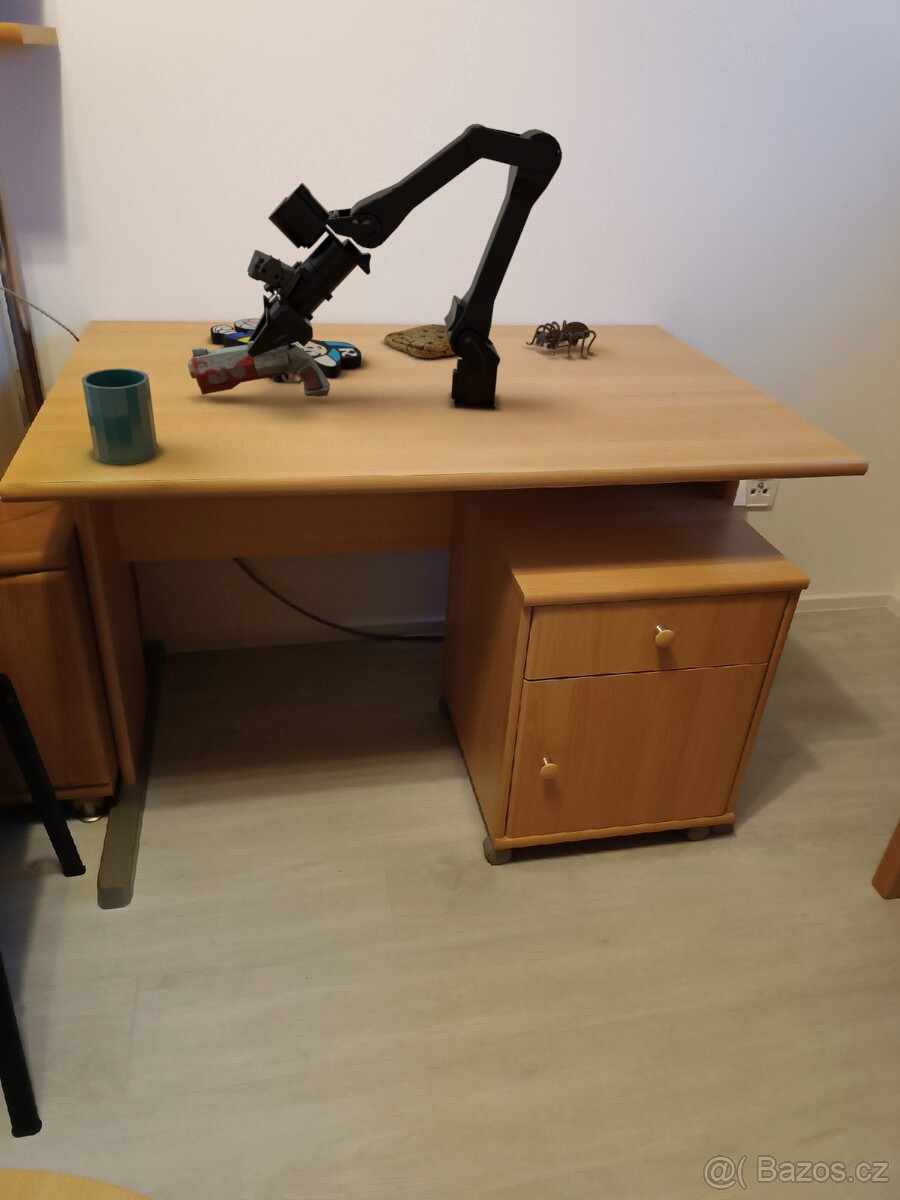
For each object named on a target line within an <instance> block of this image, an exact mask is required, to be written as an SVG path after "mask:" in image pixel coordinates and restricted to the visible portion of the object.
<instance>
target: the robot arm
mask: <svg viewBox="0 0 900 1200" xmlns="http://www.w3.org/2000/svg"><path fill="white" fill-rule="evenodd" d="M481 159H485V160H490V161H493V162H496V163H497V162H498V163H500V164H505V165H509V168H508V175H507V183H506V192H505V194H504V198H503V201H502V203H501V205H500V208H499V211H498V214H497V217H496V219H495V222H494V224H493V227H492V229H491V231H490V234H489V237H488V240H487V243H486V244H485V248H484V251H483V253H482V255H481V258H480V261H479V264H478V265H477V268H476V271H475V274H474V275H473V279H472V282H471V284H470V287H469V288H468V290H467V291H466V292H465V294H464V295H463V296H462V297H461V298H460V297H458V296H457V295H455V294H454V295H453V296H452V299H451V304H450V308H449V310H448V313H447V315H445V317H443V321H444V324H445V326H446V334H447V337H448V340H449V343H450V346H451V349H452V351H453V352H454V353H455V354H454V355H455V356H457V357H459V358H457V359H456V368H453V369H452V376H451V377H452V378H451V392H450V393H451V394H450V395H451V396H450V398H451V400H453V406H454V407H457V408H471V409H472V408H473V409H492V410H495V409H496V407H497V406H496V405H497V404H496V391H497V378H498V368H499V365H500V363H501V357H500V355H499V352H498V351H497V348H496V346H495V344H494V342H493V341H492V340H491V339H490V338H489V337H490V334H491V328H492V323H493V315H494V306H495V301H496V299H497V296H498V294H499V291H500V288H501V286H502V284H503V281H504V279H505V276H506V274H507V271H508V269H509V266H510V264H511V261H512V258H513V256H514V254H515V251H516V248H517V246H518V245H519V242H520V239H521V236H522V234H523V231H524V229H525V227H526V223H527V222H528V220H529V219H528V218H529V216H530V214H531V212H532V210H533V207H534V205H535V204H536V203H537V202H538V200H539V199H540V197H541V196H542V195H543V194H544V192H545V191H546V190H547V188H548V187H549V185H550V183H551V181H552V180H553V178H554V177H555V175H556V174H557V172H558V170H559V168H560V166H561V164H562V160H563V152H562V147H561V145H560V142H559V141H558V140H557V138H556V137H555V136H553V135H552V134H550V133H548V132H546V131H544V130H541V129H537V128H533V129H528V130H526V131H524V132H522V133H518V132H513V131H507V130H502V129H497V128H492V127H487V126H485V125H483V124H480V123H472V124H470V125H468V126H467V127H466V128H465V129H464V130H463V132H461V134H460V135H458V136H457V137H456V138H454V139H453V140H452V141H451V142H449V143H448V144H446V145H445V146H444V147H442V148H441V149H440V150H438V152H436V153H434V154H433V155H432V156H430V158H428V159H427V160H426V161H424V162H423V163H421V164H420V165H418V166H417V167H416V168H415V169H414V170H412V171H411V172H409V174H407V175H405V176H404V177H403V178H402V179H401V180H399V181H397V182H396V183H394V184H392V185H390V186H387V187H385V188H383V189H380V190H378V191H376V192H373V193H372V194H370V195H368V196H366V197H364V198H362V199H359V200H358V201H356V203H354V204H353V206H351V207H349V208H341V209H337V208H336V209H334V210H329V211H328V210H327V209H326V208H325V207H324V206H323V205H322V204H321V202H320V201H319V200H318V199H317V198H316V197H315V196H314V195H313V193H312V192H311V190H310V188H309V187H308V186H307V185H306V184H305V183H304V182H301V183H300V184H299V185H298V186H297V187H296V188H295V189H294V190H293V191H292V192H291V193H290V194H289V195H288V196H285V197H284V198H283V199H282V201H280V203H279V204H278V205H277V206H276V207H275V208H274V209H273V210H272V212H271V213H270V215H268V217H267V219H268V220H269V221H270V222H271V223H272V224H273V225H274V226H275V227H276V228H277V230H279V231H280V232H281V233H282V234H283V235H284V236H285V237H286V239H288V241H290V242H291V243H292V245H294V247H295V248H296V249H300V248H301V247H302V248H303V249H307V250H310V249H311V248H312V247H313V246H315V244H316V243H317V242H319V240H320V239H321V238H322V237H323V236H324V234H326V233H327V236H325V238H324V239H323V240H322V241H321V242H320V243H319V244H318V245H317V247H316V248H314V250H313V251H312V252H311V253H310V254H309V255H308V256H307V258H305V259H304V261H302V260H296V262H295V263H294V264H293V265H292V266H291V265H289V264H287V263H285V262H283V261H282V260H281V258H278V259H277V258H276V257H274V256H273V255H272V254H270V255H269V254H267V253H265V252H262V251H260V250H258V249H254V251H253V254H252V256H251V260H250V261H249V265H248V267H247V270H246V271H247V276H248V277H249V278H250V279H253V280H254V281H257V282H259V281H260V282H262V283H265V284H264V285H263V290H264V291H265V292H266V293H270V296H269V297H268V296H267V295H265V294H262V301H263V312H262V315H260V318H259V319H260V320H259V322H258V324H257V326H256V327H255V329H254V331H253V333H252V335H251V337H250V338H249V340H248V342H250V341H254V342H253V343H252V345H251V347H250V348H249V350H248V354H249V355H250V356H251V357H256V356H258V355H261V354H263V353H266V352H268V351H271V350H273V349H276V348H279V347H281V346H284V345H287V344H290V343H293V342H299V343H300V344H301V345H302V346H305V345H306V344H307V343H308V342H309V341H310V340H311V339H313V338H314V327H313V325H312V322H311V321H312V320H313V319H314V314H313V313H315V311H316V310H318V308H319V307H320V306H321V305H322V304H323V303H324V302H325V301H327V302H330V300H332V298H334V296H333V294H332V293H333V292H334V291H335V290H336V289H337V288H338V287H339V286H340V285H341V284H342V283H343V282H344V280H345V279H347V278H348V276H349V275H350V274H351V273H353V271H354V270H355V269H356V268H357V266H358V267H359V269H361V271H362V272H363V273H364V274H365V275H367V276H368V275H370V274H371V260H372V255H371V253H370V252H362V251H361V250H360V249H359V248H358V247H357V246H356V245H358V246H360V247H361V248H364V249H368V250H369V249H370V250H372V249H377V248H378V247H381V246H382V245H383V244H384V243H385V242H386V241H387V240H388V239H389V238H390V237H391V236H392V234H394V232H395V231H396V230H397V229H398V228H399V227H400V225H401V224H402V223H403V222H404V220H405V219H406V218H407V217H408V215H410V213H412V211H413V210H414V209H416V207H418V206H419V205H420V204H422V203H424V202H425V201H427V200H428V199H429V198H430V197H431V196H433V195H434V194H435V193H436V192H438V191H439V190H441V189H442V188H443V187H445V186H446V185H447V184H449V183H450V182H451V181H453V180H454V179H455V178H457V177H458V176H459V175H461V174H462V173H463V172H465V171H466V170H467V169H468V168H470V167H471V166H472V165H474V164H475V163H476V162H478V161H479V160H481ZM338 236H341V237H345V238H346V239H344V240H343V241H342V240H340V238H339V237H338ZM352 241H353V242H354V243H353V242H352ZM355 244H356V245H355ZM248 342H247V345H248Z"/></svg>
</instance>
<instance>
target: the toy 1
mask: <svg viewBox="0 0 900 1200" xmlns="http://www.w3.org/2000/svg"><path fill="white" fill-rule="evenodd" d="M259 320H260V318H242V319H238V320H236V321H234V323H233V325H234V326H230V325H228V324H218V325H217V324H216V325H213V326H211V327H210V329H209V330H210V341H211V343H212V344H214V345H222V346H223V348H228V347H235V346H242V345H247V342H248V340H249V338H250V337H251V335H252V333H253V331H254V329H255V327H256V326H257V324H258V322H259ZM293 344H295V345H297V346H298V347H300V348H301V349H303V350H304V351H305V352H307V353H308V354H310V355H311V356H312V358H313V359H314V361H315V362H316V364H317V365H318V366H319V368H320V369H321V371H322V372H323V374H324V375H325V377H326V379H335V378H338V377H339V376H340V375H341V373H342V370H355V369H359V368H361V366H362V351H361V350H360V349H359V348H358V347H356V346H355V345H354V344H352V343H349V342H344V341H336V340H335V341H334V340H319V339H313V338H312V339H311V340H310V341H309V342H308V343H307V344H306V345H305V346H302V345H301V344H300V343H299V342H296V343H293ZM293 344H292V345H293ZM284 374H285V377H286V379H287V380H289V374H286V373H285V372H284ZM295 375H297V374H296V372H295ZM268 379H272V381H274V382H275V383H285V382H284V381H283V379H282V377H281V375H280V376H274V377H269V378H268Z"/></svg>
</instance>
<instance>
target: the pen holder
mask: <svg viewBox="0 0 900 1200" xmlns="http://www.w3.org/2000/svg"><path fill="white" fill-rule="evenodd" d="M81 381H82V388H83V394H84V400H85V405H86V406H85V407H86V413H87V416H88V417H87V419H88V424H89V430H90V431H89V432H90V436H91V443H92V448H93V454H94V457H95V459H96V460H97V461H99V462H101V463H103V464H107V465H114V466H115V465H116V466H128V465H136V464H140V463H144V462H147V461H150V460H151V459H153V458H154V457H156V456H157V455H158V451H159V450H158V441H157V433H156V423H155V416H154V408H153V400H152V394H151V393H152V392H151V384H150V378H149V374H148V373H146V372H144V371H141V370H138V369H132V368H119V367H117V368H106V369H105V368H104V369H100V370H96V371H92V372H89V373H86V374H85V375H84V376H83V377H82V378H81Z"/></svg>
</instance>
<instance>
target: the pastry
mask: <svg viewBox="0 0 900 1200" xmlns="http://www.w3.org/2000/svg"><path fill="white" fill-rule="evenodd" d="M384 343H385V344H386V345H387V346H389V347H391V348H393V349H395V350H396V351H400V352H404V353H407V354H409V355H410V356H414V357H418V358H425V359H435V358H439V357H442V356H454V355H456V354H455V353H454V352H453V351H452V349H451V346H450V343H449V340H448V337H447V334H446V324H445V325H444V324H435V323H434V324H433V323H432V324H425V325H419V326H416V327H412V328H408V329H405V330H399V331H394V332H390V333H388V334H387V335H385V336H384Z"/></svg>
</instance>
